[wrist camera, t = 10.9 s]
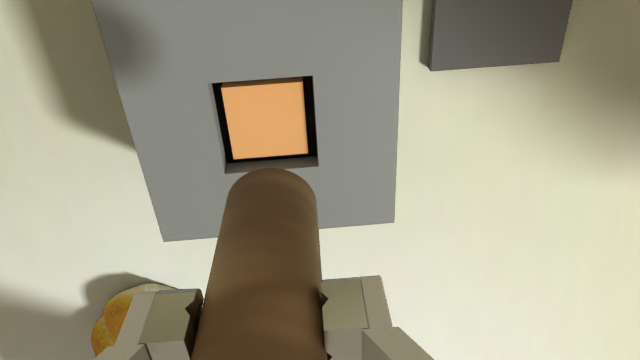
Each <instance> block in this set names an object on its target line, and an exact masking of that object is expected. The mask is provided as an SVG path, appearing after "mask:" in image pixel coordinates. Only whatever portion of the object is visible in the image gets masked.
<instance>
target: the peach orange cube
mask: <svg viewBox="0 0 640 360" xmlns="http://www.w3.org/2000/svg"><path fill="white" fill-rule="evenodd" d="M221 90H222V96H223V102H224V107H225V113H226V119H227V124H228V130H229V136H230V141H231V147H232V153H233V158H234V159H243V158H256V157H269V156H281V155H294V154H306V153H308V143H307V131H306V118H305V105H304V92H303V80H302V76H300V77H287V78H273V79H260V80H247V81H233V82H223V84H222V87H221Z"/></svg>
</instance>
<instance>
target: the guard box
mask: <svg viewBox="0 0 640 360" xmlns="http://www.w3.org/2000/svg"><path fill="white" fill-rule="evenodd" d="M91 2H92V5H93V9H94V12H95V15H96V19H97V22H98V25H99V29H100V32H101V35H102V39H103V42H104V45H105V49H106V52H107V55H108V59H109V62H110V65H111V68H112V72H113V75H114V78H115V82H116V85H117V88H118V92H119V95H120V98H121V102H122V105H123V108H124V112H125V115H126V118H127V122H128V125H129V128H130V132H131V135H132V138H133V142H134V145H135V148H136V152H137V155H138V158H139V162H140V165H141V168H142V172H143V175H144V178H145V181H146V185H147V188H148V191H149V195H150V198H151V201H152V205H153V208H154V211H155V215H156V218H157V221H158V225H159V228H160V231H161V235H162V238H163V241H164V242H169V241H181V240H192V239H204V238H216V237H218V236H219V231H220V227H221V222H222V218H223V214H224V209H225V205H226V200H227V196H228V193H229V190H230V189H231V187H232V185H233V184H234V183H235V182H236V181H237V180H238V179H239V178H240V177H242V176H243V175H245V174H247V173H249V172H251V171H254V170H257V169H262V168H279V169H284V170H287V171H290V172H293V173H295V174H297V175H298V176H300V177H301V178H303V179H304V180H305V181H306V182H307V183H308V184H309V185H310V187H311V188H312V190H313V192H314V194H315V197H316V202H317V215H318V229H324V228H336V227H348V226H360V225H372V224H384V223H394V217H395V191H396V164H397V137H398V111H399V84H400V58H401V31H402V4H403V0H91ZM300 76H302V80H303V92H304V105H305V118H306V131H307V143H308V153H306V154H294V155H281V156H269V157H256V158H243V159H234V158H233V153H232V147H231V141H230V136H229V130H228V124H227V119H226V113H225V107H224V102H223V96H222V90H221V87H222V84H223V82H233V81H247V80H260V79H273V78H287V77H300Z"/></svg>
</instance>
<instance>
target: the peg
mask: <svg viewBox="0 0 640 360" xmlns="http://www.w3.org/2000/svg"><path fill="white" fill-rule="evenodd" d="M321 280H322V274H321V259H320V245H319V230H318V215H317V202H316V197H315V194H314V192H313V190H312V188H311V187H310V185H309V184H308V183H307V182H306V181H305V180H304V179H303V178H301V177H300V176H298V175H297V174H295V173H293V172H290V171H287V170H284V169H279V168H262V169H257V170H254V171H251V172H249V173H247V174H245V175H243V176H242V177H240V178H239V179H238V180H237V181H236V182H235V183H234V184H233V185H232V187H231V189H230V190H229V193H228V196H227V200H226V205H225V209H224V214H223V218H222V222H221V227H220V231H219V236H218V240H217V245H216V249H215V254H214V258H213V263H212V267H211V272H210V276H209V281H208V285H207V290H206V294H205V298H204V303H203V307H202V312H201V316H200V321H199V325H198V330H197V334H196V339H195V343H194V348H193V352H192V357H191V360H327V352H326V351H325V343H324V330H323V312H322V297H321Z"/></svg>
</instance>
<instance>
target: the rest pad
mask: <svg viewBox="0 0 640 360" xmlns="http://www.w3.org/2000/svg"><path fill="white" fill-rule="evenodd" d="M571 5H572V0H433V7H432V21H431V36H430V50H429V64H428V68H429V70H430V71H442V70H455V69H468V68H481V67H495V66H508V65H521V64H534V63H548V62H559V59H560V54H561V50H562V45H563V41H564V36H565V32H566V27H567V23H568V18H569V14H570V9H571Z"/></svg>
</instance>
